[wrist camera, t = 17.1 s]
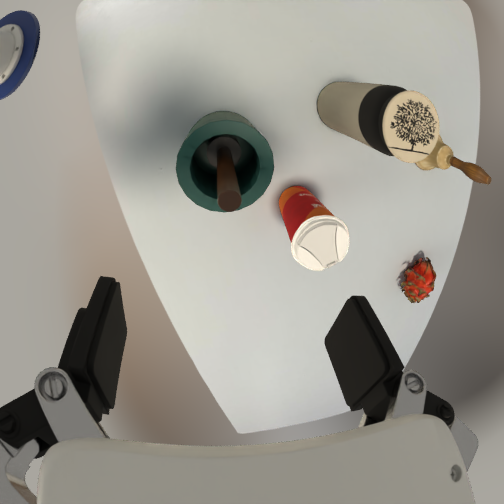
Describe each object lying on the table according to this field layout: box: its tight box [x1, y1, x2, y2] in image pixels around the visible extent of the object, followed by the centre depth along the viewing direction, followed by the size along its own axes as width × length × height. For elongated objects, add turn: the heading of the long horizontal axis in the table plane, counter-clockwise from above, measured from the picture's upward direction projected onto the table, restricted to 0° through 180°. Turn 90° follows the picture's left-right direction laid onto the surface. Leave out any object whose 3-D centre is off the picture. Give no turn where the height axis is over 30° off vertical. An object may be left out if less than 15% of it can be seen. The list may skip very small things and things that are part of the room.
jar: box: [176, 111, 274, 212], centre depth 32 cm, size 10×10×12 cm
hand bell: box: [415, 135, 491, 184], centre depth 34 cm, size 8×8×16 cm
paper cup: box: [279, 186, 349, 271], centre depth 38 cm, size 8×8×14 cm
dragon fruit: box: [401, 257, 436, 303], centre depth 54 cm, size 8×8×12 cm
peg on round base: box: [207, 134, 242, 212], centre depth 28 cm, size 4×4×20 cm
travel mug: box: [317, 82, 439, 163], centre depth 28 cm, size 8×8×18 cm
